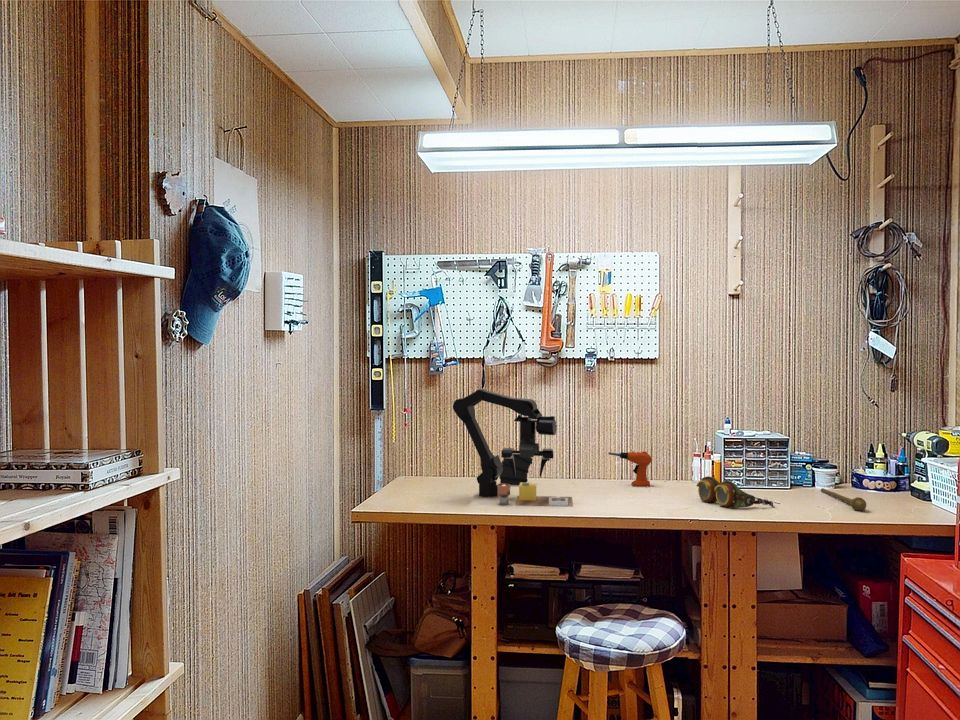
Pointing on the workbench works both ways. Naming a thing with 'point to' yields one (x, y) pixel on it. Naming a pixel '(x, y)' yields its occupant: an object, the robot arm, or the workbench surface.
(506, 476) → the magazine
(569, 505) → the plywood board
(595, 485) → the workbench surface
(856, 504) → the ball headed mace
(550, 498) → the frame
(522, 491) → the block
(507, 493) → the copper and grey cylinder
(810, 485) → the workbench surface
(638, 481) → the toy drill
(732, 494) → the goggles
